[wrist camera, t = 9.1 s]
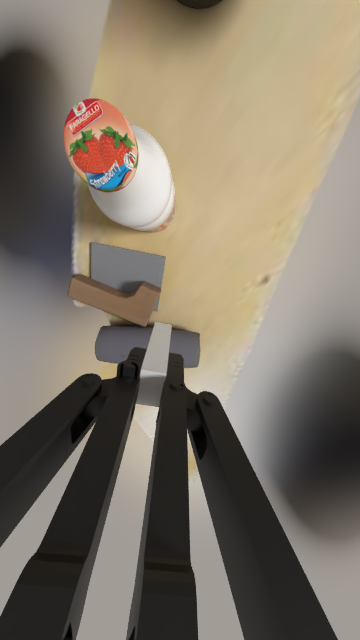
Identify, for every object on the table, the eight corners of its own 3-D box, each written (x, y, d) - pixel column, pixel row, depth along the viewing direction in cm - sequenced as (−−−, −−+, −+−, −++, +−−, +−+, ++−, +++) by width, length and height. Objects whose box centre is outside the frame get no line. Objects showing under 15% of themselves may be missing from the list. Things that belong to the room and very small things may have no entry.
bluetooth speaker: (110, 348, 52) (95, 372, 43) (108, 316, 48) (91, 335, 39) (194, 354, 52) (197, 378, 43) (198, 323, 49) (202, 343, 40)
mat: (92, 242, 41) (91, 242, 41) (165, 256, 42) (165, 257, 42) (92, 299, 46) (91, 299, 46) (157, 310, 47) (157, 311, 47)
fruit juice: (145, 240, 41) (86, 246, 15) (120, 195, 38) (-8, 104, 12) (184, 218, 39) (192, 182, 14) (162, 168, 36) (116, -5, 10)
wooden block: (162, 288, 44) (85, 254, 42) (160, 293, 40) (75, 256, 37) (148, 320, 48) (76, 291, 45) (145, 328, 44) (66, 296, 41)
